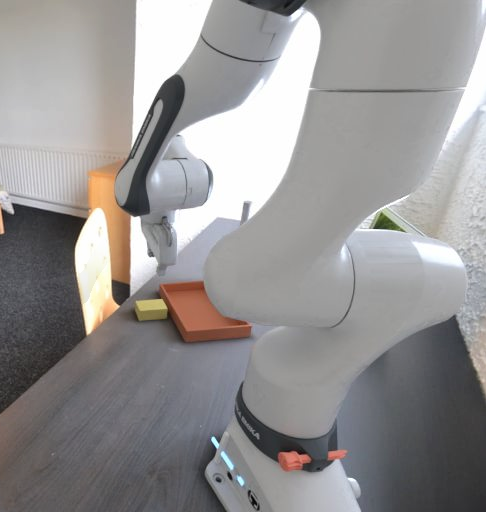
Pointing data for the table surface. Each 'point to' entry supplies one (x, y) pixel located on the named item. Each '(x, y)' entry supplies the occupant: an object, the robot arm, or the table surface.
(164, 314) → the sponge
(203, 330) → the orange tray
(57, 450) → the table surface
